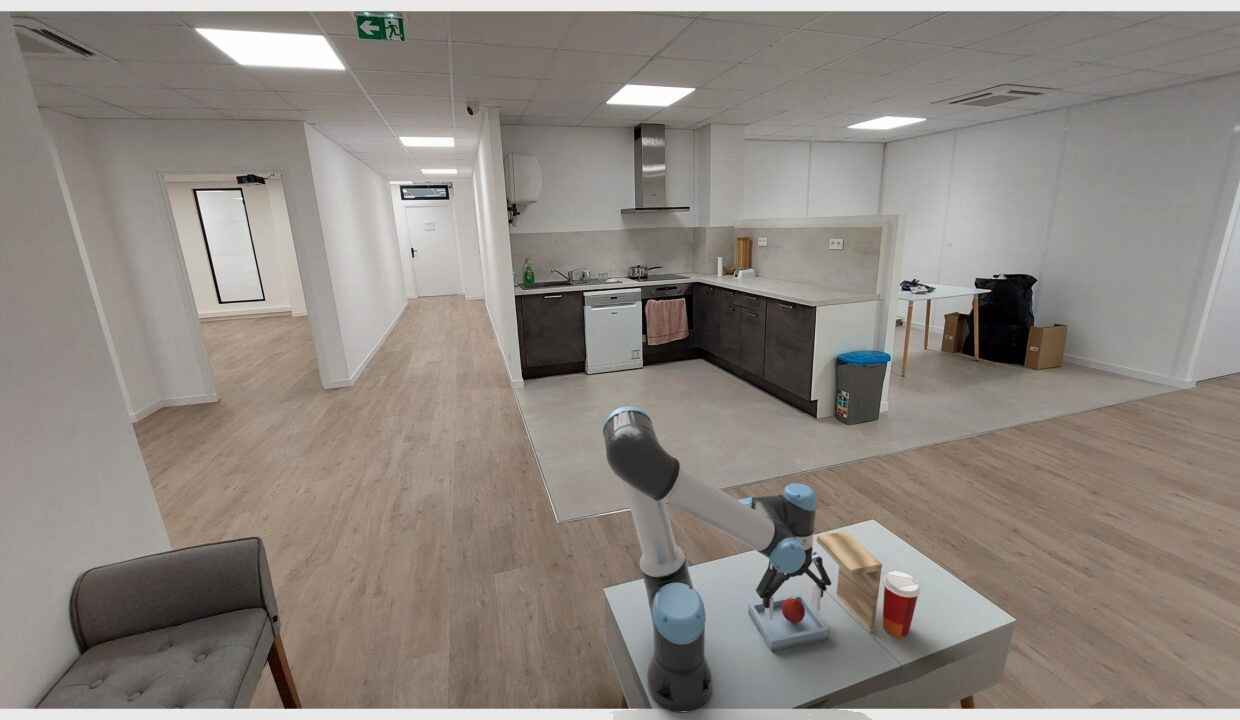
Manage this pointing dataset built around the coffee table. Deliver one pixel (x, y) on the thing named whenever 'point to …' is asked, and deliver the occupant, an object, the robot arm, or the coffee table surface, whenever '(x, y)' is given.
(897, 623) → the coffee cup
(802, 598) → the tray
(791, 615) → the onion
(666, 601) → the robot arm
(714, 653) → the coffee table surface
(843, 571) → the wooden l-shaped bracket
